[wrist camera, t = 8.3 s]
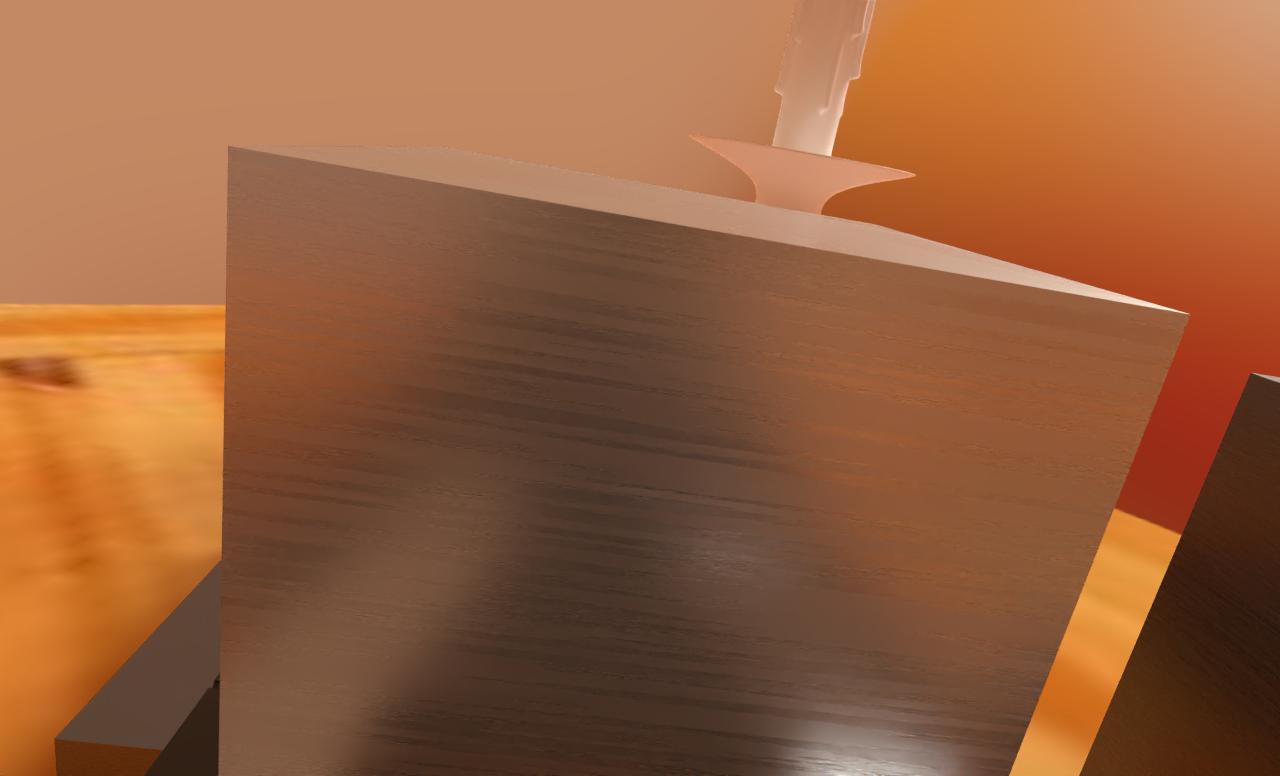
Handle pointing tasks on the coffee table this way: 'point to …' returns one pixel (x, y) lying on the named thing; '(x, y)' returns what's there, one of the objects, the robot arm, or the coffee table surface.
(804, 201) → the candlestick
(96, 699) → the bore plate
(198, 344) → the coffee table surface
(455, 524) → the square bit
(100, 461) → the coffee table surface
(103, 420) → the coffee table surface
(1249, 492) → the block
